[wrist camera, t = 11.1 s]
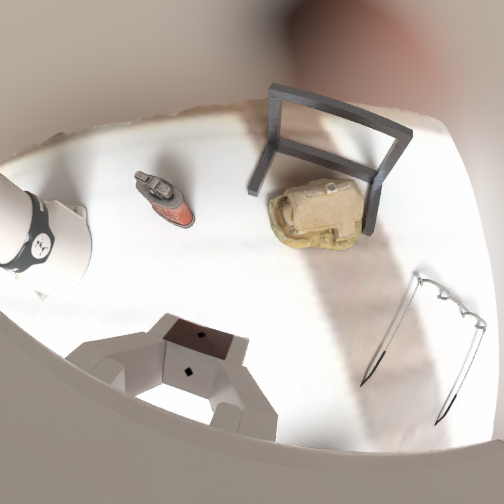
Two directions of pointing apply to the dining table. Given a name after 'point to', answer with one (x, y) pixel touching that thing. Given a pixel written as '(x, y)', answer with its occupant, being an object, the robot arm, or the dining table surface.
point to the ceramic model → (318, 214)
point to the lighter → (165, 199)
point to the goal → (327, 159)
